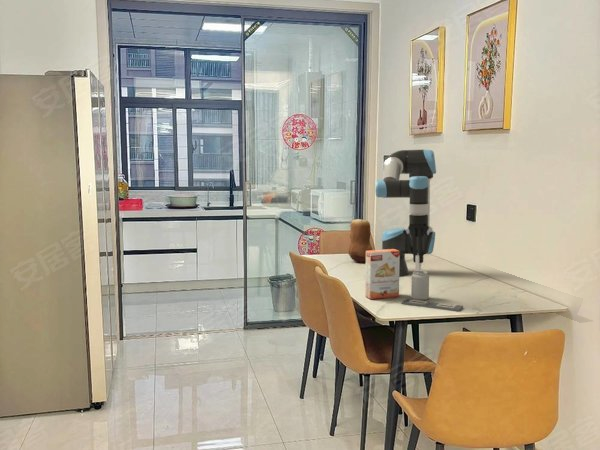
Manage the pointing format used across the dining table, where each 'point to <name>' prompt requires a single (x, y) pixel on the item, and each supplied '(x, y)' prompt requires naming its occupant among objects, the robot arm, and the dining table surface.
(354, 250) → the butternut squash
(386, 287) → the cracker box
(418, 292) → the can
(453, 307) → the panel
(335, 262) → the dining table surface
